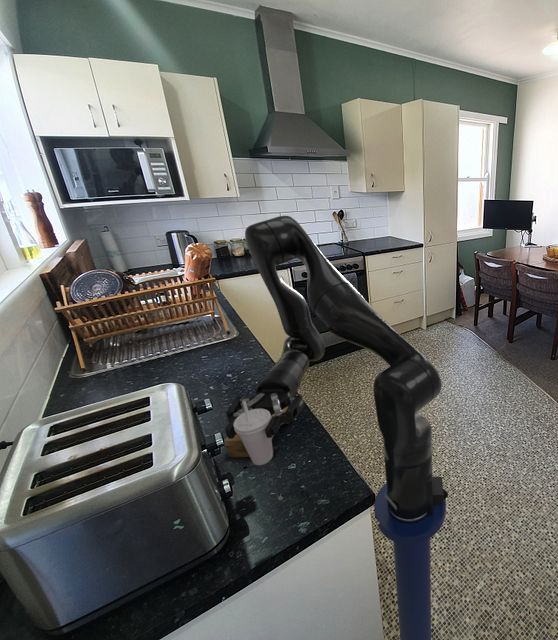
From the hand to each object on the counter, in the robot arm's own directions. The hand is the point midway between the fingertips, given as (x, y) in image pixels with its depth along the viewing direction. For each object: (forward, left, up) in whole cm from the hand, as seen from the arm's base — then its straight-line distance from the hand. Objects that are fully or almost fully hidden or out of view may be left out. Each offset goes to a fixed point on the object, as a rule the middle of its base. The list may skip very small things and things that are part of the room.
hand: (248, 434), depth 63 cm
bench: (+9, -19, -18) cm, 28 cm away
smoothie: (0, -2, -8) cm, 9 cm away
